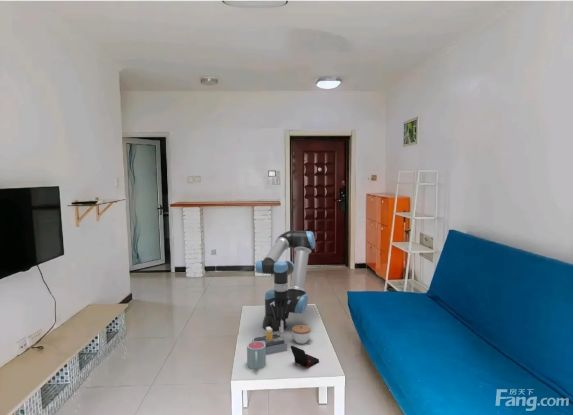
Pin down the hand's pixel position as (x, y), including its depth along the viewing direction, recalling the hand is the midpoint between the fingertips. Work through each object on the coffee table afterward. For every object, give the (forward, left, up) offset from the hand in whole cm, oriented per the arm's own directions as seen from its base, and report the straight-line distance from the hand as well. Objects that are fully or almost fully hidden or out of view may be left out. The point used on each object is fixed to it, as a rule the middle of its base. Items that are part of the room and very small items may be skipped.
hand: (281, 331), depth 205 cm
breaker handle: (+7, 0, -4) cm, 8 cm away
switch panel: (+7, 0, -8) cm, 11 cm away
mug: (+20, +16, -9) cm, 27 cm away
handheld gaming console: (-4, +22, -9) cm, 24 cm away
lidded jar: (-13, -1, -9) cm, 16 cm away
